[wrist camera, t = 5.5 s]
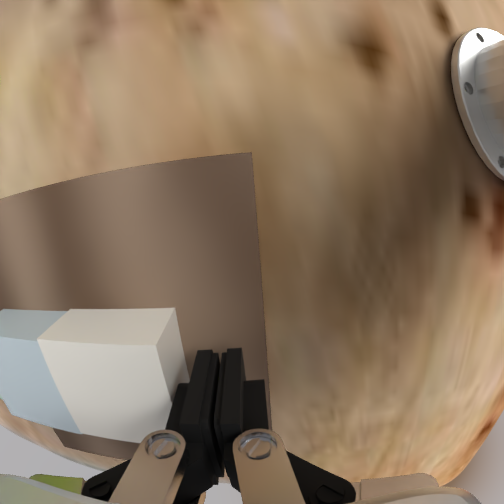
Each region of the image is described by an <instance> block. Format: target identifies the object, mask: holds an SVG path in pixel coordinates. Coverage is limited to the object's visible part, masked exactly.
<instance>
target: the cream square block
mask: <svg viewBox="0 0 504 504" xmlns="http://www.w3.org/2000/svg"><path fill="white" fill-rule="evenodd" d="M37 341H38V344H39V346H40V349H41V351H42V354H43V356H44V359H45V361H46V364H47V366H48V368H49V371H50V373H51V375H52V378H53V380H54V382H55V384H56V386H57V388H58V391H59V393H60V395H61V397H62V399H63V401H64V403H65V405H66V407H67V409H68V410H69V412H70V414H71V416H72V418H73V420H74V422H75V423H76V425H77V427H78V429H79V430H80V432H81V433H83V434H88V435H92V436H97V437H103V438H108V439H114V440H121V441H127V442H135V443H141V441H142V440H143V439H144V438H145V437H146V436H147V435H148V434H150V433H152V432H154V431H158V430H165V428H166V424H167V421H168V417H169V414H170V410H171V407H172V403H173V400H174V396H175V393H176V390H177V386H178V384H179V383H189V381H190V379H189V374H188V370H187V365H186V361H185V356H184V352H183V347H182V342H181V337H180V332H179V326H178V321H177V316H176V310H175V308H147V309H70V310H69V311H67V312H66V313H65V314H64V315H63V316H62V317H61V318H59V319H58V320H57V321H56V322H55V323H54V324H53V325H51V326H50V327H49V328H48V329H47V330H46V331H45V332H44V333H43V334H41V335H40V336H39V337H38V338H37Z"/></svg>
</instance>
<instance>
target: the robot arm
mask: <svg viewBox="0 0 504 504" xmlns="http://www.w3.org/2000/svg"><path fill="white" fill-rule="evenodd" d="M451 78H452V84H453V91H454V95H455V99H456V103H457V107H458V111H459V113H460V116H461V119H462V122H463V125H464V127H465V130H466V132H467V134H468V136H469V138H470V140H471V143H472V144H473V146H474V148H475V149H476V151H477V153H478V155H479V156H480V158H481V159H482V160H483V162H484V163H485V164H486V166H487V167H488V168H489V169H490V170H491V171H492V172H493V173H494V174H495V175H496V176H497V177H499V178H500V179H502V180H504V36H503V35H501V34H499V33H498V32H496V31H493V30H491V29H488V28H475V29H471V30H470V31H468V32H466V33H464V34H463V35H462V36H461V37H460V38H459V39H458V40H457V42H456V44H455V46H454V49H453V53H452V60H451ZM224 468H225V469H226V472H227V475H228V477H229V479H230V482H231V485H232V487H233V488H235V489H236V490H238V491H239V492H240V493H241V496H242V501H243V504H481V503H480V501H479V500H478V499H477V498H476V497H475V496H474V495H473V494H471V493H470V492H468V491H466V490H464V489H461V488H455V487H439V485H438V483H437V480H436V479H435V478H434V477H433V476H431V475H428V474H425V473H417V474H410V475H404V476H396V477H387V478H377V479H363V480H361V482H356V483H350V482H348V481H347V480H345V479H343V478H341V477H339V476H336V475H334V474H332V473H330V472H328V471H325V470H323V469H321V468H319V467H317V466H315V465H313V464H311V463H309V462H307V461H305V460H303V459H301V458H299V457H297V456H295V455H293V454H291V453H290V452H288V451H286V450H285V447H284V444H283V441H282V439H281V438H280V436H279V435H278V434H276V433H275V432H273V431H271V430H269V425H268V414H267V403H266V392H265V381H264V379H260V380H247V381H246V375H245V368H244V360H243V352H242V348H228V349H227V352H223V353H222V356H221V364H220V360H219V354H218V353H213V350H212V349H210V350H198V351H197V354H196V358H195V362H194V366H193V369H192V373H191V377H190V381H189V383H179V384H178V386H177V390H176V393H175V396H174V400H173V403H172V407H171V410H170V414H169V417H168V421H167V424H166V428H165V430H158V431H154V432H152V433H150V434H148V435H147V436H146V437H145V438H144V439H143V440H142V441H141V443H140V445H139V447H138V449H137V451H136V452H135V454H134V456H133V458H131V459H129V460H127V461H125V462H123V463H121V464H119V465H117V466H115V467H113V468H111V469H109V470H107V471H105V472H102V473H100V474H98V475H96V476H94V477H92V478H90V479H89V480H87V481H85V480H84V479H83V478H74V477H62V476H52V475H43V474H36V475H33V476H31V477H30V478H25V477H21V476H15V475H7V474H6V475H5V474H0V504H204V501H205V497H206V492H205V491H206V490H208V489H209V488H211V487H212V486H213V485H218V479H219V477H224Z"/></svg>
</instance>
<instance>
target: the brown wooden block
mask: <svg viewBox="0 0 504 504" xmlns="http://www.w3.org/2000/svg"><path fill="white" fill-rule="evenodd" d="M147 308H175V310H176V316H177V321H178V326H179V332H180V337H181V342H182V347H183V352H184V356H185V361H186V365H187V370H188V374H189V379H190V377H191V373H192V369H193V366H194V362H195V358H196V354H197V351H198V350H210V349H212V350H213V353H218V354H219V360H220V364H221V356H222V353H223V352H227V349H228V348H242V352H243V360H244V368H245V375H246V381H247V380H260V379H264V381H265V392H266V403H267V414H268V425H269V430H271V431H272V423H271V408H270V393H269V378H268V363H267V349H266V335H265V321H264V307H263V293H262V279H261V266H260V253H259V239H258V226H257V213H256V201H255V188H254V175H253V163H252V152H250V153H238V154H227V155H217V156H208V157H199V158H191V159H183V160H176V161H169V162H162V163H155V164H149V165H143V166H137V167H131V168H126V169H120V170H115V171H110V172H105V173H100V174H95V175H90V176H85V177H81V178H77V179H72V180H68V181H64V182H60V183H56V184H52V185H48V186H44V187H40V188H36V189H33V190H29V191H26V192H22V193H19V194H15V195H12V196H9V197H5V198H2V199H0V311H1V310H2V309H16V310H42V311H69V310H70V309H147ZM52 428H53V427H52ZM53 429H54V431H55V433H56V434H57V436H58V437H59V439H60V440H61V442H62V443H63V445H64V446H65V447H68V448H72V449H76V450H80V451H84V452H89V453H93V454H98V455H103V456H108V457H113V458H119V459H125V460H129V459H131V458H133V456H134V454H135V452H136V451H137V449H138V447H139V445H140V443H135V442H127V441H121V440H114V439H108V438H103V437H97V436H92V435H88V434H82V435H81V434H77V433H73V432H68V431H64V430H60V429H57V428H53Z"/></svg>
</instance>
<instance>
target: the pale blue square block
mask: <svg viewBox="0 0 504 504" xmlns="http://www.w3.org/2000/svg"><path fill="white" fill-rule="evenodd" d="M66 312H67V311H42V310H16V309H2V310H1V311H0V395H1V397H2V399H3V401H4V402H5V404H6V406H7V408H8V409H9V411H10V413H11V414H12V415H14V416H17V417H20V418H23V419H26V420H29V421H32V422H35V423H39V424H42V425H46V426H49V427H53V428H57V429H60V430H64V431H68V432H73V433H77V434H81V435H82V434H83V433H81V432H80V430H79V429H78V427H77V425H76V423H75V422H74V420H73V418H72V416H71V414H70V412H69V410H68V409H67V407H66V405H65V403H64V401H63V399H62V397H61V395H60V393H59V391H58V388H57V386H56V384H55V382H54V380H53V378H52V375H51V373H50V371H49V368H48V366H47V364H46V361H45V359H44V356H43V354H42V351H41V349H40V346H39V344H38V341H37V338H38V337H39V336H40V335H41V334H43V333H44V332H45V331H46V330H47V329H48V328H49V327H50V326H51V325H53V324H54V323H55V322H56V321H57V320H58V319H59V318H61V317H62V316H63V315H64V314H65V313H66Z"/></svg>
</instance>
